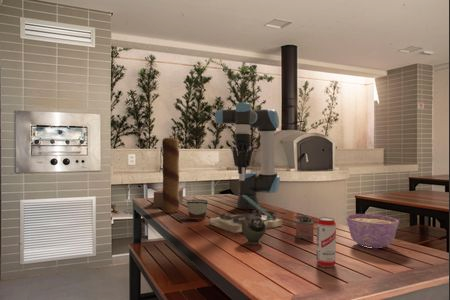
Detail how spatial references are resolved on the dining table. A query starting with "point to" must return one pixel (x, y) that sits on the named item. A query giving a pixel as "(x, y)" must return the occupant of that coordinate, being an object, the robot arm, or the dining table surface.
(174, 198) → the wafer roll
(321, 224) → the beer can
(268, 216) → the teal strap
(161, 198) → the tissue box cover
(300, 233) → the potted succulent
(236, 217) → the charcoal strap
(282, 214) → the dining table surface
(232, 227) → the mount
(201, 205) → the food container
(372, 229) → the bowl of food
